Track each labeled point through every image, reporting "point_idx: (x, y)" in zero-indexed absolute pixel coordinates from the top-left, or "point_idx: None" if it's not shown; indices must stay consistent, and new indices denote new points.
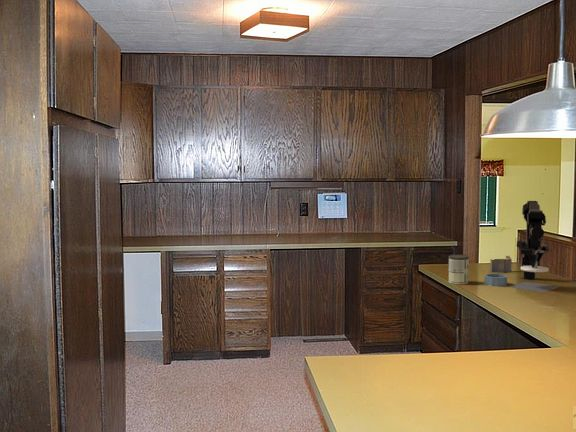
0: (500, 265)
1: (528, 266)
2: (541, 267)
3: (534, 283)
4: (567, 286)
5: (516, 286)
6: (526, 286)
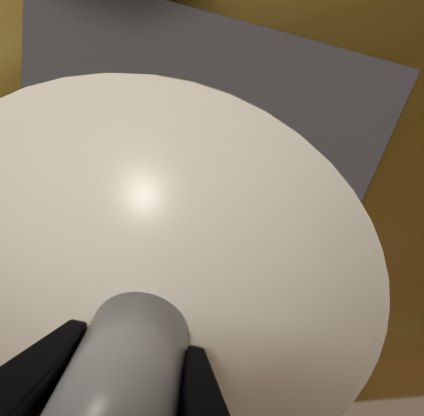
0: None
1: (243, 214)
2: (253, 404)
3: (354, 173)
4: (372, 381)
5: (101, 48)
6: None
